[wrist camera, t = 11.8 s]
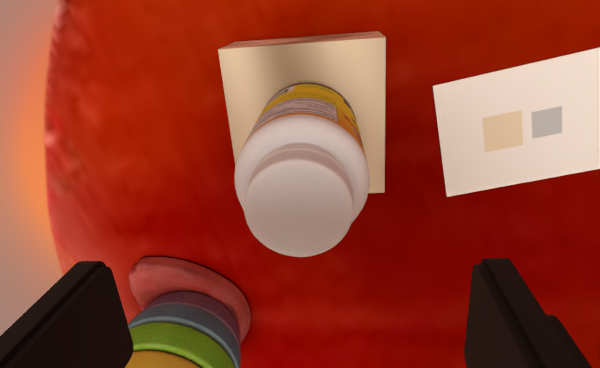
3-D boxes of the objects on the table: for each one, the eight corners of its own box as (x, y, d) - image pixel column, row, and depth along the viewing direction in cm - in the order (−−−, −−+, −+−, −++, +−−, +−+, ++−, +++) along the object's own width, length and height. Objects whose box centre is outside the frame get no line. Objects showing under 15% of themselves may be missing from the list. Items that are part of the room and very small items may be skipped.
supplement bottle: (346, 178, 25) (358, 287, 16) (256, 163, 25) (214, 264, 16) (366, 87, 23) (394, 152, 14) (266, 70, 23) (225, 124, 13)
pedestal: (378, 31, 25) (385, 37, 22) (378, 167, 29) (384, 192, 25) (234, 42, 26) (217, 49, 23) (251, 173, 30) (240, 197, 26)
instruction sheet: (622, 41, 24) (623, 42, 24) (616, 164, 28) (617, 165, 27) (432, 85, 26) (432, 86, 26) (446, 196, 29) (447, 197, 29)
